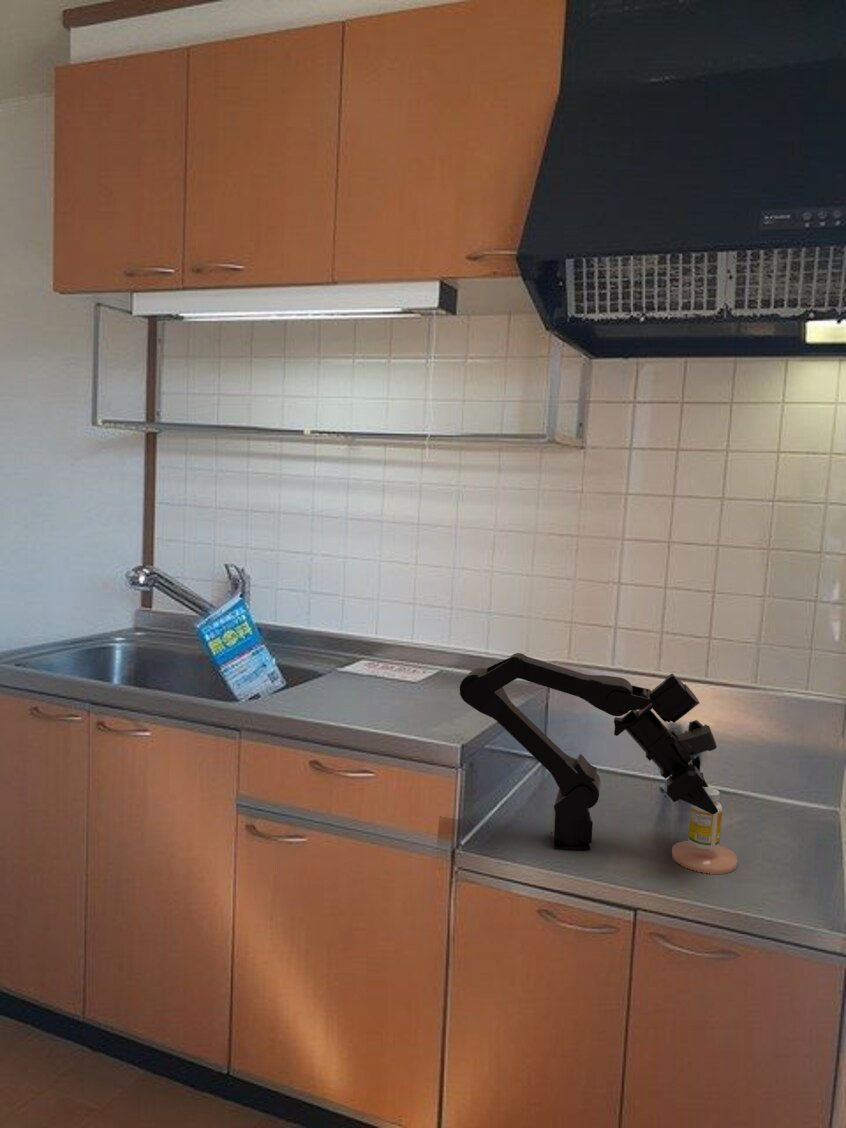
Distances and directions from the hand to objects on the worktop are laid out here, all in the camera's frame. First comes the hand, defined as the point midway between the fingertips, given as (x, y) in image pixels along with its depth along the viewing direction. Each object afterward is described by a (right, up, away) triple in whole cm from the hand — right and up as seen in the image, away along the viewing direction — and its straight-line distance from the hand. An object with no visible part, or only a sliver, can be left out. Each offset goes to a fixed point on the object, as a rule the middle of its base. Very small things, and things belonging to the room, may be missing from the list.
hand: (714, 806), depth 154 cm
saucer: (-2, -10, +1) cm, 10 cm away
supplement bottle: (-2, -7, +1) cm, 7 cm away
